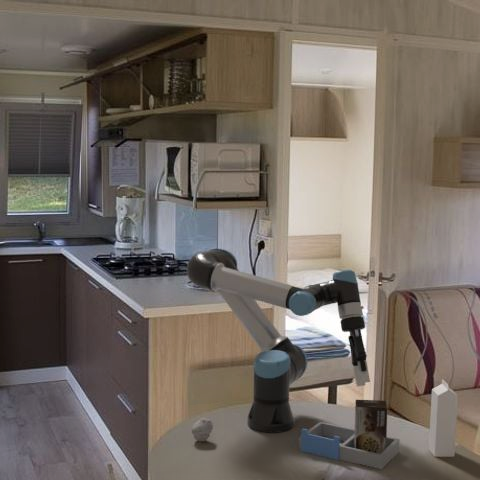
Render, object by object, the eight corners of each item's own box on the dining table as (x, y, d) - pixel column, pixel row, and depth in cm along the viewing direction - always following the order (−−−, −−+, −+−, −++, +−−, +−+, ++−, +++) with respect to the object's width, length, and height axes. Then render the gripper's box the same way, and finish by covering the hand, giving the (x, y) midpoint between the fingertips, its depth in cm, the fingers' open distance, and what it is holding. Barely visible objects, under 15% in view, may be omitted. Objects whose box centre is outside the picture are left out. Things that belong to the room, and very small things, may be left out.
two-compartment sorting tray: (298, 450, 224) (298, 428, 223) (319, 433, 237) (320, 413, 236) (380, 470, 211) (381, 447, 210) (398, 451, 224) (399, 430, 223)
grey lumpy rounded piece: (217, 440, 230) (217, 418, 229) (200, 446, 225) (200, 424, 224) (203, 435, 234) (204, 413, 233) (186, 440, 229) (187, 419, 228)
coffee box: (383, 452, 224) (386, 400, 222) (386, 461, 217) (388, 407, 215) (353, 450, 225) (355, 398, 223) (354, 459, 218) (356, 405, 216)
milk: (447, 449, 227) (452, 378, 225) (454, 457, 221) (459, 385, 219) (428, 449, 227) (432, 378, 224) (434, 457, 221) (438, 384, 218)
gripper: (367, 309, 228) (380, 379, 223) (359, 322, 252) (370, 385, 247) (343, 312, 228) (355, 382, 223) (337, 325, 252) (348, 388, 247)
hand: (363, 384), depth 235 cm, fingers open, 13 cm apart
